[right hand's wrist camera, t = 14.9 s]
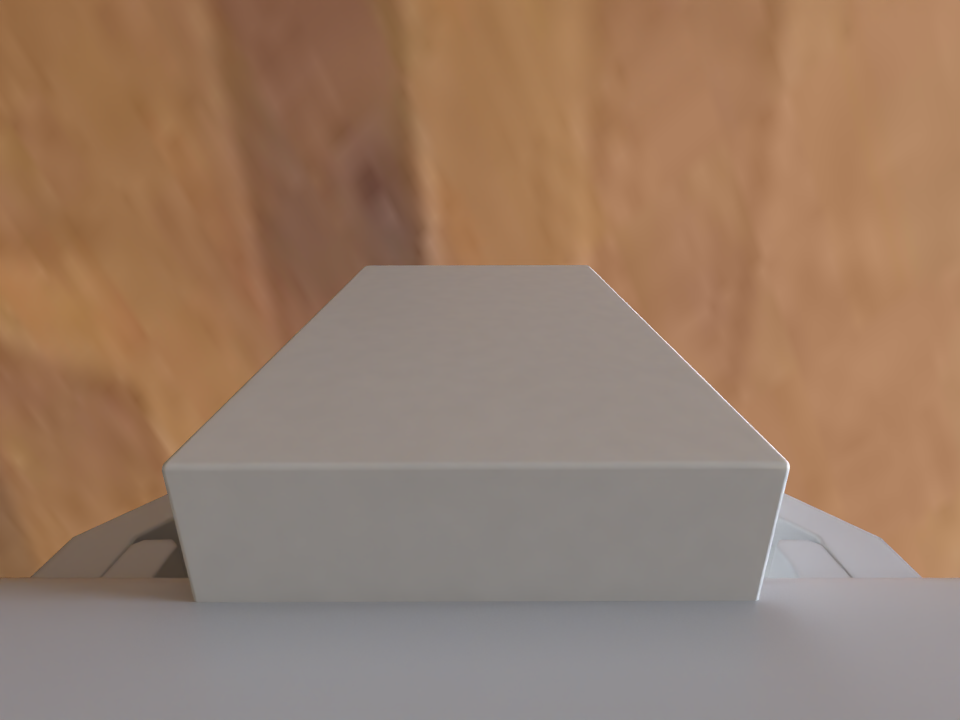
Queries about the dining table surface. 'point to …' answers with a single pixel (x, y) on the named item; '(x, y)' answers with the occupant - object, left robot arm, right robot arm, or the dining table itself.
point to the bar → (476, 454)
